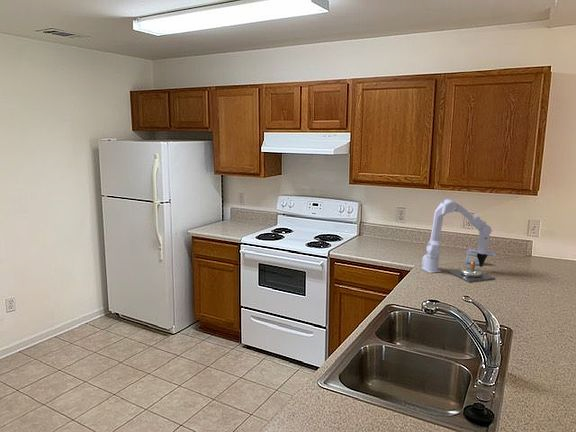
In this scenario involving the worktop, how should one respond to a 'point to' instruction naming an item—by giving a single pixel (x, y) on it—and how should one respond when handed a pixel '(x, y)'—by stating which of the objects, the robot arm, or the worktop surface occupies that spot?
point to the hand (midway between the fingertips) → (481, 266)
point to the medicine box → (471, 258)
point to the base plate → (471, 279)
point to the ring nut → (471, 271)
